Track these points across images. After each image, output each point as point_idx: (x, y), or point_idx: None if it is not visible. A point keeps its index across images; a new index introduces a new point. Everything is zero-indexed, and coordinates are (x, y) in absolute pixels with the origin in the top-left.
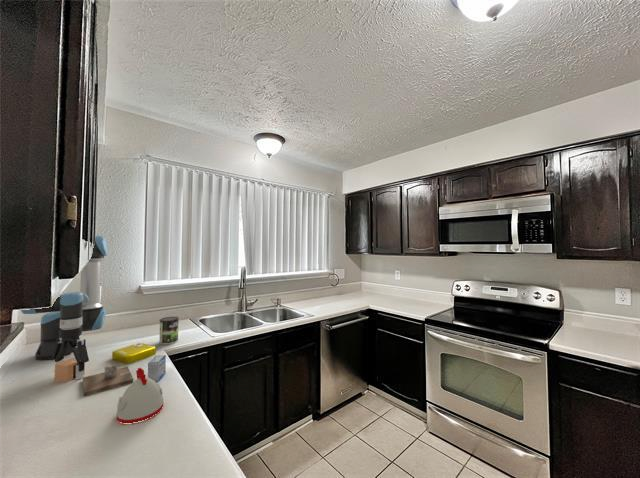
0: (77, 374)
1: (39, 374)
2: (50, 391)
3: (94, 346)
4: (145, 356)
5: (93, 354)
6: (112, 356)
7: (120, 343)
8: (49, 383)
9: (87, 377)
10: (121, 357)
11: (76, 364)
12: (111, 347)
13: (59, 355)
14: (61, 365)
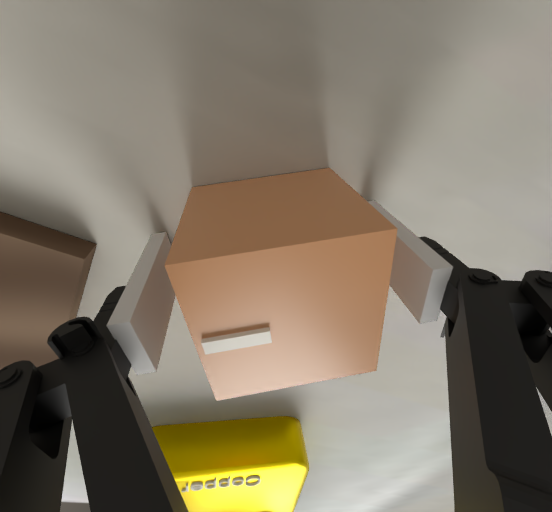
0: (142, 260)
1: (544, 181)
2: (93, 3)
3: None
4: None
5: (443, 401)
6: (288, 435)
7: (423, 467)
8: (312, 118)
9: (48, 273)
10: (195, 455)
11: (82, 325)
12: (426, 447)
13: (475, 346)
14: (276, 244)
